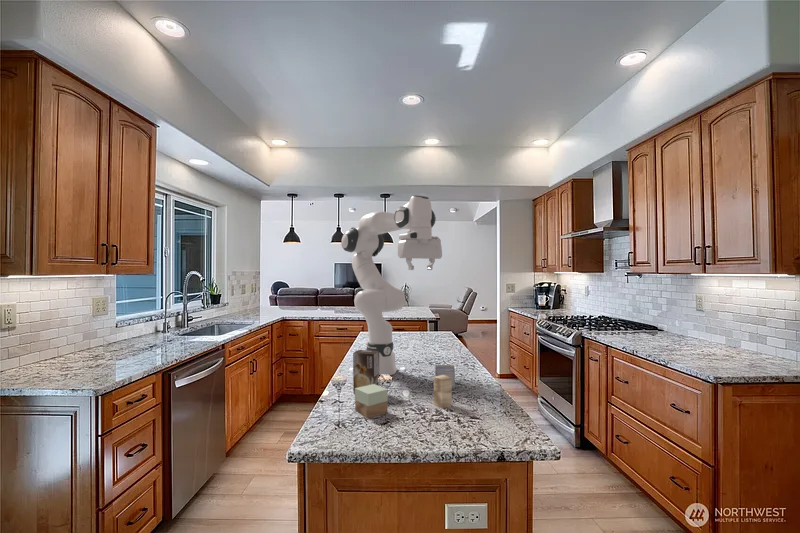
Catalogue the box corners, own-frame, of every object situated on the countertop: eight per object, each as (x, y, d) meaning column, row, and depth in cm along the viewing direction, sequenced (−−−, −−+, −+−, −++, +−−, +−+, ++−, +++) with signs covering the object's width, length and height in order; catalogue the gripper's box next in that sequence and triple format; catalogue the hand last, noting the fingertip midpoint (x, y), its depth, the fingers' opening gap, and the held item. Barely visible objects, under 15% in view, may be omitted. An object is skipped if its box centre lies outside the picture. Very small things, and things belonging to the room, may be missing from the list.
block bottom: (355, 411, 137) (355, 399, 137) (375, 406, 142) (375, 395, 142) (366, 418, 131) (366, 406, 131) (387, 413, 135) (387, 401, 135)
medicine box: (454, 385, 166) (454, 365, 166) (454, 389, 161) (454, 367, 161) (435, 385, 167) (435, 364, 167) (435, 388, 162) (435, 367, 162)
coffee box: (380, 391, 159) (380, 350, 159) (374, 396, 152) (374, 354, 152) (358, 389, 161) (358, 349, 161) (352, 394, 155) (352, 352, 155)
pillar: (433, 404, 143) (433, 376, 143) (443, 402, 145) (443, 374, 145) (441, 408, 139) (441, 379, 139) (451, 406, 142) (451, 377, 142)
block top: (354, 399, 137) (354, 388, 137) (374, 395, 142) (374, 383, 142) (368, 406, 131) (368, 394, 131) (387, 401, 136) (387, 389, 136)
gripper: (435, 237, 170) (435, 269, 170) (395, 234, 158) (395, 269, 158) (445, 236, 165) (445, 269, 164) (404, 233, 153) (404, 270, 153)
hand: (420, 269), depth 161 cm, fingers open, 8 cm apart
